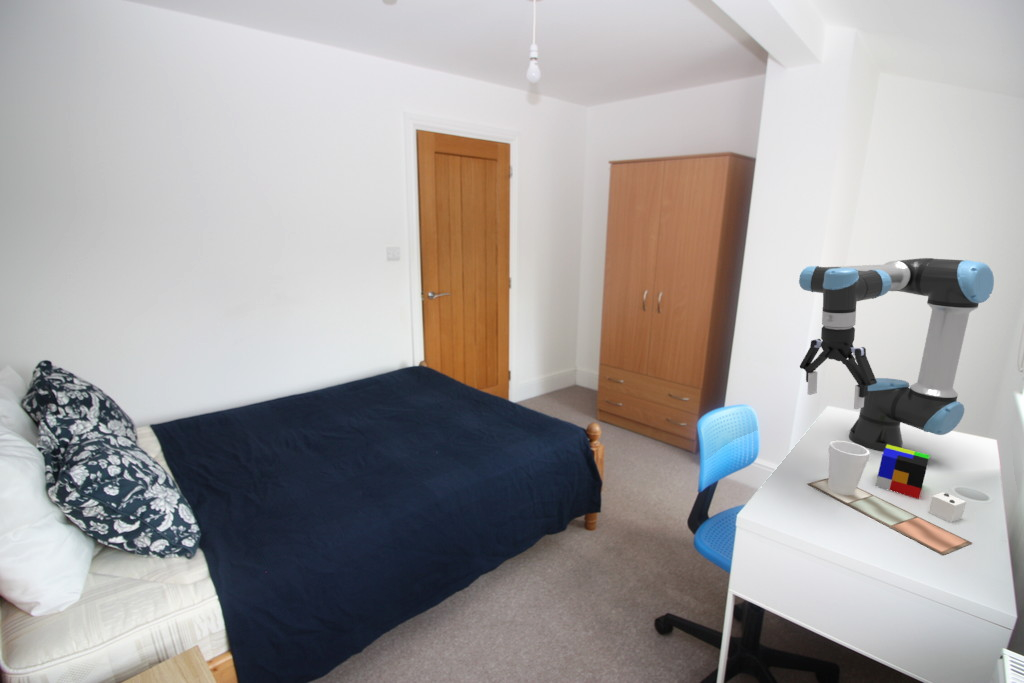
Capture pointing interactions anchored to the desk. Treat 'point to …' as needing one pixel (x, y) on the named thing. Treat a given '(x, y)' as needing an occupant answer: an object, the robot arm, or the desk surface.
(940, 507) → the die
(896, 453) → the puzzle toy
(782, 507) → the desk surface
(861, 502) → the color swatch strip
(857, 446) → the foam cup
